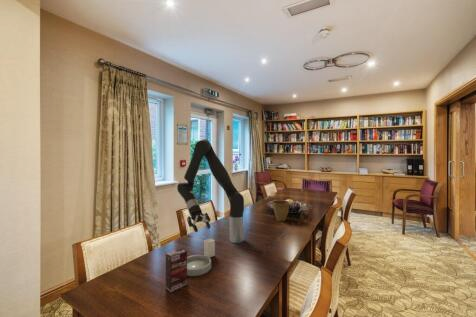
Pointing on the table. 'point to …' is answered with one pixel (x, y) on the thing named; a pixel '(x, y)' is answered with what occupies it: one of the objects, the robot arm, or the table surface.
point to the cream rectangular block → (209, 247)
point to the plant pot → (281, 209)
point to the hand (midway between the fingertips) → (203, 230)
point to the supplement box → (176, 269)
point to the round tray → (198, 265)
